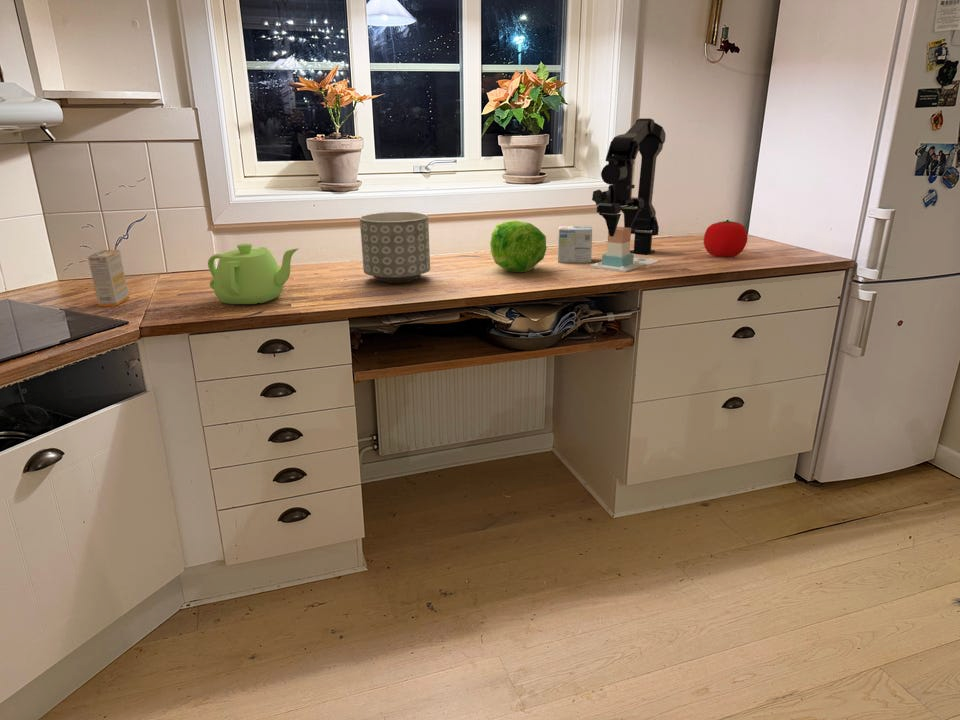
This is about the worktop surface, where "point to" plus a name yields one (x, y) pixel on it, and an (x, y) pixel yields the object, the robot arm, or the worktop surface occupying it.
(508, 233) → the lettuce
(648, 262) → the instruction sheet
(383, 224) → the planter
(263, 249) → the teapot
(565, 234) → the light bulb box
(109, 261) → the supplement box
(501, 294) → the worktop surface
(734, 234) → the tomato
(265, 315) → the worktop surface
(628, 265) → the build plate
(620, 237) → the rust brick
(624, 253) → the cream brick
